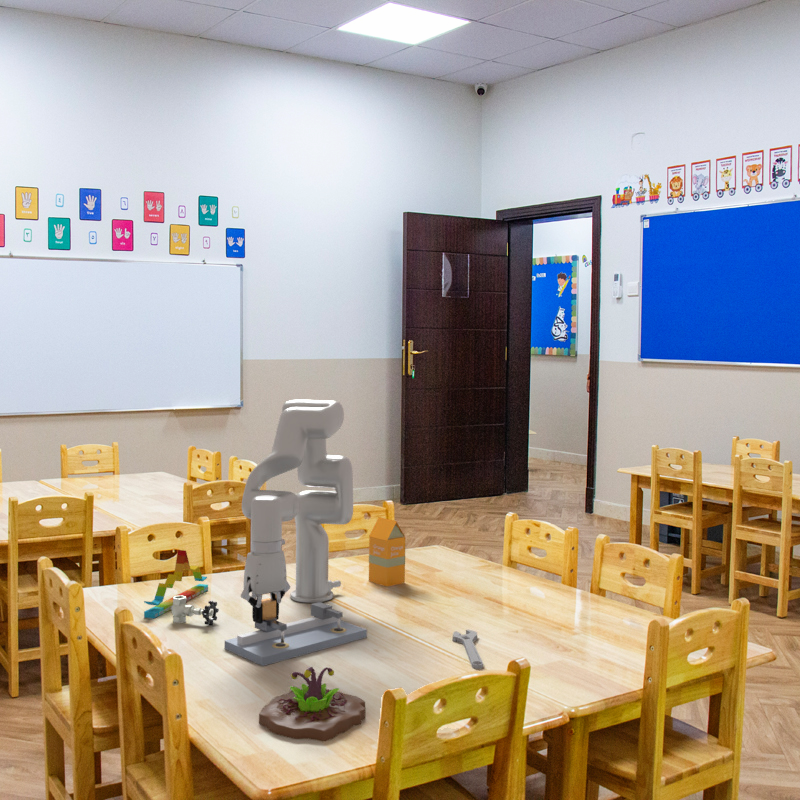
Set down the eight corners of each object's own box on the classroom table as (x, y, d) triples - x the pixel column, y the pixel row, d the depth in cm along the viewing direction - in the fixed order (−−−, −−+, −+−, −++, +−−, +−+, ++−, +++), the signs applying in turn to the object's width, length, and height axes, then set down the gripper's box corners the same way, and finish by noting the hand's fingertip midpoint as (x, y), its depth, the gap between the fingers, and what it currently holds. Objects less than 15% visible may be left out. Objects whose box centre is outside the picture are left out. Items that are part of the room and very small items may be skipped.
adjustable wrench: (484, 671, 209) (484, 663, 209) (456, 671, 209) (456, 663, 209) (476, 636, 234) (476, 629, 234) (451, 635, 234) (451, 629, 234)
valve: (165, 624, 239) (206, 629, 236) (165, 599, 239) (206, 604, 235) (179, 617, 245) (218, 622, 242) (179, 593, 245) (218, 597, 241)
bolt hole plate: (327, 622, 242) (327, 596, 242) (366, 637, 231) (367, 610, 230) (224, 648, 220) (224, 620, 220) (262, 666, 209) (262, 636, 208)
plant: (241, 729, 175) (242, 672, 174) (293, 694, 193) (293, 643, 192) (333, 749, 167) (334, 689, 166) (378, 710, 185) (379, 656, 184)
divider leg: (266, 631, 226) (266, 597, 225) (290, 641, 218) (290, 605, 218) (253, 634, 223) (253, 600, 222) (277, 644, 216) (277, 609, 215)
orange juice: (386, 577, 292) (387, 515, 290) (405, 582, 285) (406, 519, 284) (368, 581, 286) (368, 518, 285) (386, 586, 280) (387, 522, 279)
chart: (154, 619, 244) (154, 564, 243) (144, 618, 245) (144, 563, 244) (208, 591, 273) (209, 541, 272) (199, 590, 274) (199, 541, 273)
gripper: (284, 539, 230) (284, 610, 231) (228, 548, 218) (228, 623, 219) (303, 544, 224) (302, 617, 225) (246, 554, 213) (245, 631, 214)
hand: (265, 619), depth 222 cm, fingers closed on divider leg, 4 cm apart
